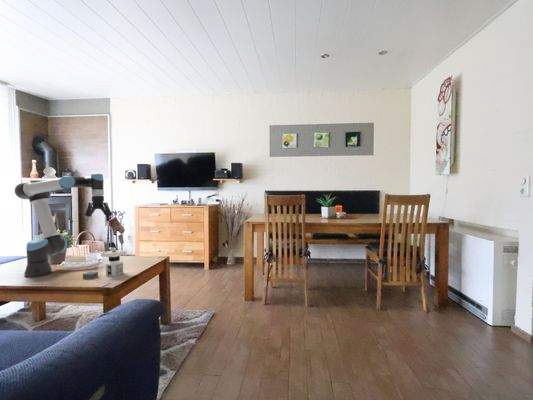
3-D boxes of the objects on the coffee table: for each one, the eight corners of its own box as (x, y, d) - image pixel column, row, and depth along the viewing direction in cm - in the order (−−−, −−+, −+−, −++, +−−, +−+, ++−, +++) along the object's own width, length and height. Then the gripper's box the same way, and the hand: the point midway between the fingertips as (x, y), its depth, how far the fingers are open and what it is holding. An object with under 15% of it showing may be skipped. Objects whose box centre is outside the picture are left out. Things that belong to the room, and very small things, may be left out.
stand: (82, 278, 195) (82, 274, 195) (90, 276, 201) (90, 271, 201) (90, 279, 194) (90, 274, 193) (98, 276, 199) (97, 272, 199)
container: (115, 276, 200) (115, 256, 200) (105, 275, 202) (105, 256, 201) (123, 272, 208) (123, 254, 207) (113, 272, 209) (113, 253, 209)
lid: (100, 256, 200) (100, 250, 200) (112, 253, 211) (112, 247, 211) (115, 257, 198) (115, 251, 198) (126, 253, 209) (126, 248, 208)
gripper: (78, 196, 213) (79, 226, 214) (109, 195, 208) (110, 226, 209) (86, 195, 221) (87, 224, 221) (116, 195, 215) (117, 225, 216)
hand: (98, 225), depth 215 cm, fingers open, 13 cm apart
